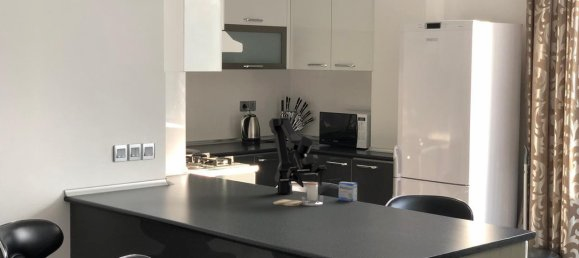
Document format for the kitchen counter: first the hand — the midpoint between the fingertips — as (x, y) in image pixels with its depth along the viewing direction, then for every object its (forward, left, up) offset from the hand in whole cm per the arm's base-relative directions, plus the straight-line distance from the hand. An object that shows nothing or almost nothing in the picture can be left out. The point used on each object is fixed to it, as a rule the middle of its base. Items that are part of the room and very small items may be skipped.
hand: (312, 186), depth 374 cm
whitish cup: (0, 0, -6) cm, 6 cm away
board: (-10, -4, -8) cm, 14 cm away
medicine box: (+11, +17, -9) cm, 22 cm away
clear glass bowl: (0, 0, -8) cm, 8 cm away
